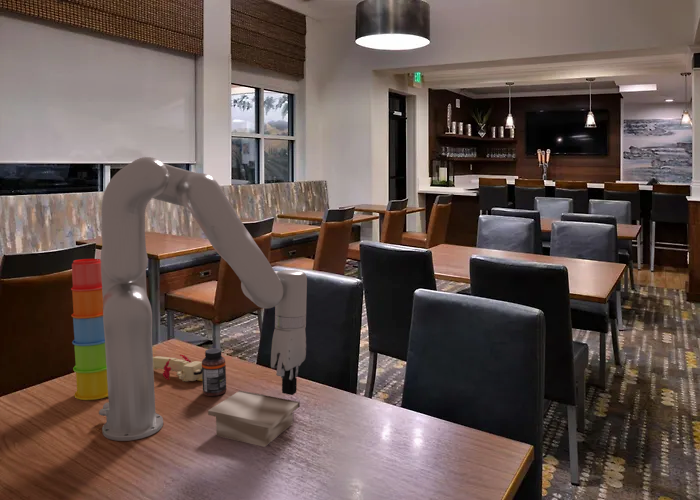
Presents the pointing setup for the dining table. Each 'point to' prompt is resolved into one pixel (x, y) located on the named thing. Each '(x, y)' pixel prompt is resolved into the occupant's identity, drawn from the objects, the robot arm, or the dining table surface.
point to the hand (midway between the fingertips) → (289, 392)
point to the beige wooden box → (253, 417)
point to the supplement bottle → (213, 373)
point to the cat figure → (179, 367)
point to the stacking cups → (89, 330)
